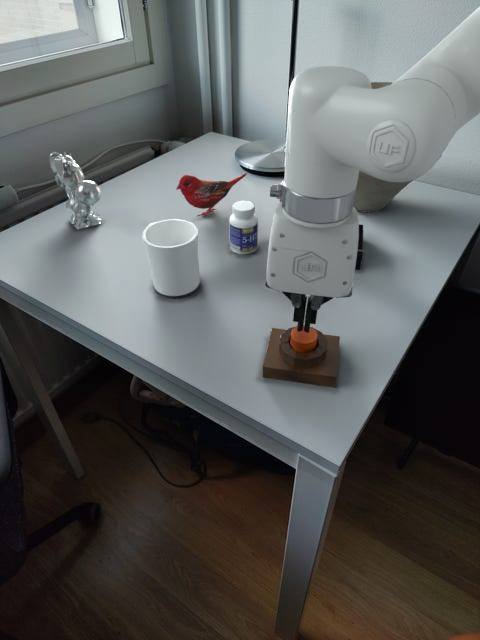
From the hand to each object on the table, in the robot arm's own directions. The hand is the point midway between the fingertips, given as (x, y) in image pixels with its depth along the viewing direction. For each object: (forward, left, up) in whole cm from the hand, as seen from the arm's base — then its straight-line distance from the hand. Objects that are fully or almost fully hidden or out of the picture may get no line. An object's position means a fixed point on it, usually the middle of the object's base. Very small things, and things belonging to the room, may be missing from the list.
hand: (304, 325), depth 62 cm
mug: (+24, -15, -7) cm, 29 cm away
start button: (0, 0, -3) cm, 3 cm away
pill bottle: (+14, -28, -7) cm, 32 cm away
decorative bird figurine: (+23, -41, -7) cm, 47 cm away
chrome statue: (+48, -31, -7) cm, 57 cm away
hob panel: (-1, -29, -7) cm, 29 cm away
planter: (-9, -50, -7) cm, 51 cm away
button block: (0, 0, -7) cm, 7 cm away
